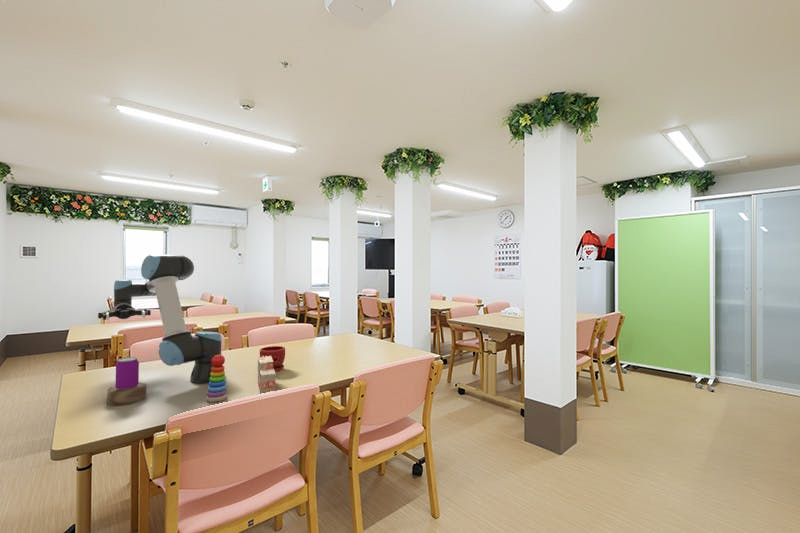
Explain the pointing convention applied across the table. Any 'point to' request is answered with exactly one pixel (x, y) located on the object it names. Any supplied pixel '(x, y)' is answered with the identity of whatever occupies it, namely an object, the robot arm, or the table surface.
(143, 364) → the table surface
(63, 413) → the table surface
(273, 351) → the plant pot
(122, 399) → the walnut pedestal
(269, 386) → the stack of blocks
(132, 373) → the beverage can
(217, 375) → the stacking toy
